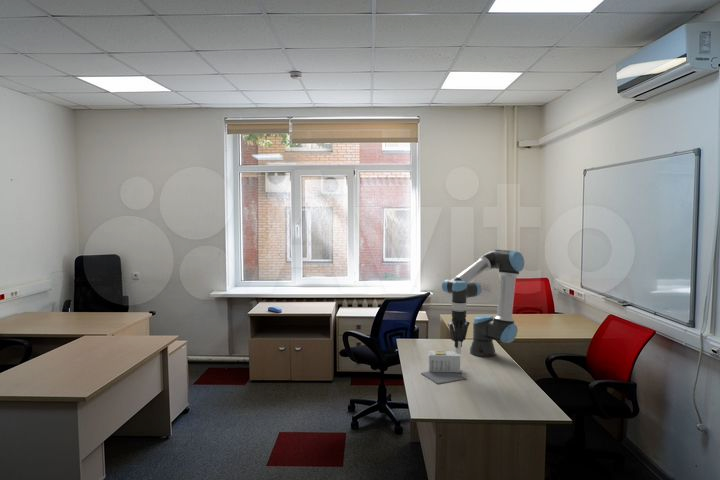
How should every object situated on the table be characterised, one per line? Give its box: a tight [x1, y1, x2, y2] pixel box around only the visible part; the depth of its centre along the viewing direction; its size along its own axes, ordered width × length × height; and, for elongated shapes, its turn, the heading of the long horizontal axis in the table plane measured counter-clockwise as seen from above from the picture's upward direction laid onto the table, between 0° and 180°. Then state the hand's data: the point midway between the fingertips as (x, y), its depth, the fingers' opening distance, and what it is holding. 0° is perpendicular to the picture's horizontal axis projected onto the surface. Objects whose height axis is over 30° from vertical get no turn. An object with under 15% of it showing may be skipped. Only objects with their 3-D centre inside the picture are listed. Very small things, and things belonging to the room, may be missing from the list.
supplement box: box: [428, 350, 461, 373], centre depth 258 cm, size 10×9×17 cm
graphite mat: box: [420, 371, 467, 385], centre depth 250 cm, size 18×16×1 cm
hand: (458, 353), depth 253 cm, fingers closed
